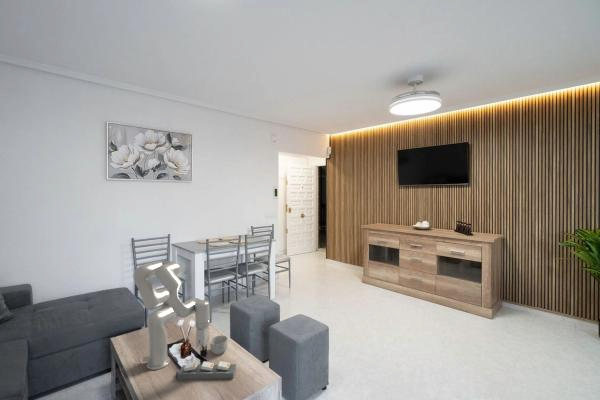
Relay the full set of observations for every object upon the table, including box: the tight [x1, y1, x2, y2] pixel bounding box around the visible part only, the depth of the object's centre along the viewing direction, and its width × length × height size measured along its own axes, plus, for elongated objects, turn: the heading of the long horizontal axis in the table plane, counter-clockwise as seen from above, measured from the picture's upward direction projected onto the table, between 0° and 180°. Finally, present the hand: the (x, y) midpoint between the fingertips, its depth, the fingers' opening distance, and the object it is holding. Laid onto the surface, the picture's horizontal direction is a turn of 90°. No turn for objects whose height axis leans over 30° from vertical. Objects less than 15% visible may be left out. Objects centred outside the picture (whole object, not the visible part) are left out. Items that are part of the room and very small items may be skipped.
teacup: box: [209, 333, 228, 355], centre depth 183 cm, size 14×11×8 cm
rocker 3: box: [217, 360, 231, 370], centre depth 159 cm, size 6×4×2 cm
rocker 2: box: [201, 360, 215, 371], centre depth 159 cm, size 6×4×2 cm
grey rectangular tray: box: [176, 363, 237, 381], centre depth 159 cm, size 32×8×4 cm, turn 92°
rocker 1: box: [184, 361, 199, 371], centre depth 158 cm, size 6×4×2 cm
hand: (203, 356), depth 158 cm, fingers closed
